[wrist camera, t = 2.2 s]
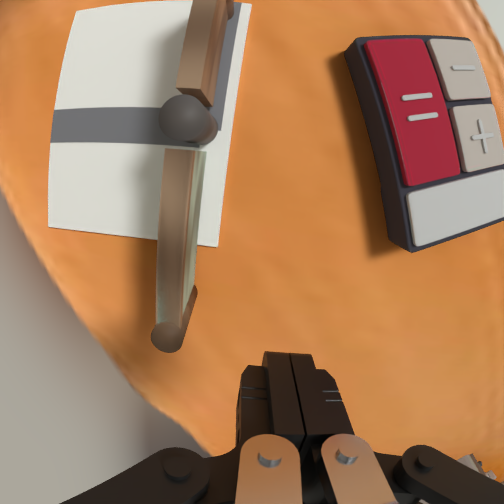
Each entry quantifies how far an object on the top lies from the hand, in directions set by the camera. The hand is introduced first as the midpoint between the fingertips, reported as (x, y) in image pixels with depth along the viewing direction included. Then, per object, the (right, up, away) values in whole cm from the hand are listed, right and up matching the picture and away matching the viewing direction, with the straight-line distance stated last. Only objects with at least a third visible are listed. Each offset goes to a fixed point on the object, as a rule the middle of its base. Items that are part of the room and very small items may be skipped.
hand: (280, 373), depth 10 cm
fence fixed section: (-4, +16, +9) cm, 19 cm away
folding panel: (-5, +5, +11) cm, 14 cm away
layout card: (-9, +14, +9) cm, 19 cm away
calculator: (+13, +13, +11) cm, 21 cm away
